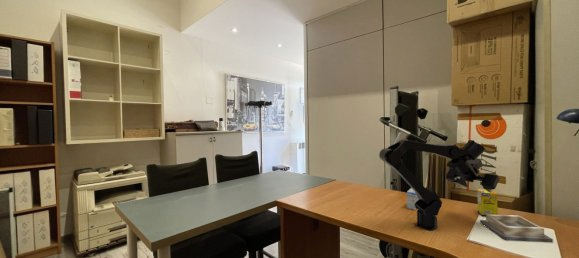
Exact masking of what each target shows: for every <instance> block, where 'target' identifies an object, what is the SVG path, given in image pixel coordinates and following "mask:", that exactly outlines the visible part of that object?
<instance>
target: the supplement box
mask: <svg viewBox="0 0 579 258" xmlns="http://www.w3.org/2000/svg"><path fill="white" fill-rule="evenodd" d="M498 211H499V209H498V193H497V192H495V191H494V189H493V190H492V191H491V192H488V191H487V190H485V189H483V188H481V189H477V212H478V213H479V215H480V216H481V217H486V215H499V214H498Z"/></svg>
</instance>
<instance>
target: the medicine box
mask: <svg viewBox="0 0 579 258" xmlns="http://www.w3.org/2000/svg"><path fill="white" fill-rule="evenodd" d="M418 200H419V199H418V197H417V195H416V192H415V191H414V190H413V189H412V188H411V187H410V188H409V189H408V190H407V192H406V209H408V210H412V209H413V210H412V211H417V209H416V208H415V205H414V204H415V203H416V202H417V201H418Z"/></svg>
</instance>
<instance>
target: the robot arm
mask: <svg viewBox="0 0 579 258" xmlns="http://www.w3.org/2000/svg"><path fill="white" fill-rule="evenodd" d="M408 150H413V151H419V152H424V153H430V154H434V155H436V156H440V157H442V158H447V159H450V160H448V162H447V163H446V167H448V170H447V172H446V174H445V179H446V180H447V181H448V182H452V183H454V184H456V185H459V186H461V187H465V188H468V187H469V185H468V182H469V183H474V182H475V181H479V182H481V183H480V185H481V187H482V189H483V190H487V191H488V192H491V191H492V190H493V191H494V190H496V188H497V186H498V184H499V181H500V180H501V178H500V177H499V175H498V174H497V173H489V172H486V173H484V175H483V174H480V172H481V171H480V169H481V168H482V167H483V166H484V165H483V161H482V159H481V158H479V157H480V156H481V155H483V153H485V151H486V148H485V147H484V145H482V144H480V143H479V142H476V141H475V140H473V139H469V140H468V141H467V142H466V143H465V144H463V146H462V147H459V146H458V145H454V144H448V143H436V144H435V143H433V144H432V143H427V142H422V141H421V142H419V141H415V140H410V139H406V138H402V139H400V140H398V141H397V142H395V143H393V144H391V145H389V146H388V147H386V148H385V147H384V148H381V150H380V151H379V155H378V156H379V158H380V160H381V161H382V162H384V163H385V164H386V165H388V166H389V167H391V168H392V169H394V171H395V172H396V173H397V174H398V175H399V176H400V178H402V179H403V180H404V181H405V183H406V184H408V186H409V187H410V188H412V189H413V190H414V191H415V192H416V195H417V197H418V199H419V200H418V201H417V202H416V203H415V204H414V205H415V208H416V223H415V224H414V225H415V227H419V228H422V229H424V230H428V231H434V230H435V229H436V228H438V226H439V225H438V217H437V216H438V215H439V212H440V209H441V207H442V205H443V201H442V197H441V196H439V195H438V194H437V192H436V191H435V190H433V189H432V188H430V187H427V186H426V187H425V186H424V185H423V184H422V182H420V181H419V180H418V178H416V176H415V175H414V174H413V173H412V172H411V171H410V170H409V169H408V168H407V166H405V164H404V163H403V159H402V158H401V157H403V156H404V154H406V152H408Z"/></svg>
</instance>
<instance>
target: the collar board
mask: <svg viewBox="0 0 579 258" xmlns="http://www.w3.org/2000/svg"><path fill="white" fill-rule="evenodd" d="M480 222H481V223H482V225H483V226H484V225H485V226H486V227H485V226H484V227H485V228H487V229H488V228H489V229H488V230H490V231H491V232H492V233H494V234H495V235H496V236H498V237H499V238H501V239H502V240H503V241H515V242H536V243H537V242H538V243H539V242H541V243H553V242H554V239H553V238H552V237H550V236H548V235H546V234H545V228H543V227H542V226H540V225H539V224H536V223H534V222H533V221H530V220H529V219H526V218H525V217H523V216H521V215H516V214H515V215H514V214H513V215H512V214H511V215H509V214H498V215H486V216H485V219H480V220H479V223H480ZM481 223H480V224H481Z"/></svg>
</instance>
